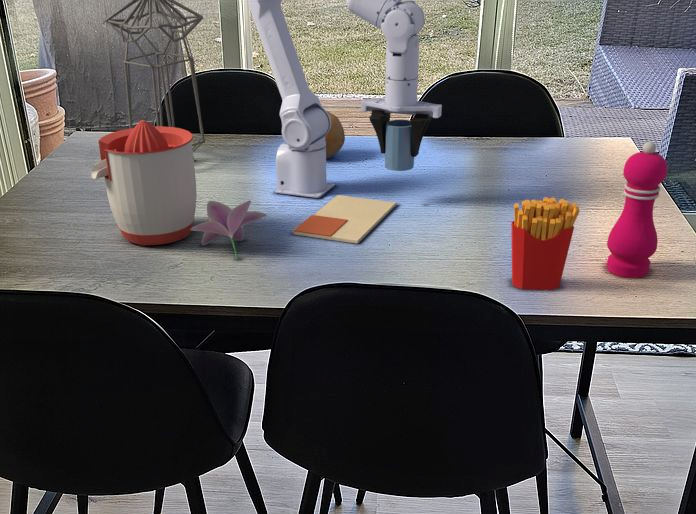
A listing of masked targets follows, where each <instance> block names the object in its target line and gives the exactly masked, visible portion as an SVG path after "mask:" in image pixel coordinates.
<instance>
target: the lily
mask: <svg viewBox="0 0 696 514" xmlns="http://www.w3.org/2000/svg"><path fill="white" fill-rule="evenodd" d="M251 203H252V201H251V200H247V201H244V202H243V203H240V204H239V205H237V206H235V207H233V208H230V207H229V205H227V204H225V203H223V202H220V201H215V200H209V201H207V203H206V215H207V218H208V220H207V221H203V222H202V223H199V224H196V225H194V226H192V228H191V229H190V230H191V231H192V232H193V231H195V232H204V233H203V236H202V239H201V245H202V246H206V245H208V244H210V243H211V242H213V241H214V240H217V239H219V238H221V237H223V236H226V237H228V238H230V240H231V244H232V248H233V251H234V254H235V258H236V260H238V259H239V255H238V252H237V249H236V245H235V242H234V240H236V241H239V242H242V241H243V239H244V228H243V227H244V226H246V225H248V224H251V223H253V222H255V221H258V220H260V219H263V218H266V217H267V214H266V213H264V212H260V211H252V210H251V211H250V210H249V208H250V206H251Z"/></svg>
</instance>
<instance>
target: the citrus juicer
mask: <svg viewBox="0 0 696 514" xmlns="http://www.w3.org/2000/svg"><path fill="white" fill-rule="evenodd" d="M192 134H193V133H191V132H190V131H189V130H186V129H183V128H180V127H176V126H175V127H172V126H171V127H169V126H164V125H163V126H157V125H155V126H154V125H153V124H151V123H150V122H149V121H147V120H146V119H141V120H140V121H139V122H138V123H137V124H136V125H135V126H134V127H132V128H130V127H129V128H125V129H120V130H116V131H114V132H110V133H107V134H105V135H103V136H101V138H99V139H98V141H97V142H98V148H99V155H100V161H98V162H96V163H94V164H93V166H92V168H91V169H92V170H91V178H92V179H93V180H97V179H102V178H104V183H105V188H106V196H107V198H108V204H109V207H110V209H111V212H112V216H113V218H114V220H115V222H116V224H117V228H118V230H119V231H120V233H121V234H122V236H123V237H124V239H125V240H126V241H128V242H129V243H132V244H136V245H138V246H141V247H147V246H157V245H158V246H159V245H165V244H166V245H167V244H170V243H174V242H179V241H181V240H184V239H185V238H187V236H188V235H190V233H191V231H192V230H190V229H191V228H192V227H194V226H193V225H194V222H195V214H196V210H197V209H196V208H197V195H198V194H197V179H196V169H195V161H194V160H195V158H194V159H193V157H194V152H193V149H192V148H193V146H192V144H193V141H192V140H194V137H193V135H194V134H193V135H192Z"/></svg>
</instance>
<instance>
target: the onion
mask: <svg viewBox="0 0 696 514" xmlns="http://www.w3.org/2000/svg"><path fill="white" fill-rule="evenodd" d="M326 111H327V112H328V114H329V116H330V119H331V127H330V130H329V132H328V133H327V134H326V135H325V141H326V160H327V159H330V158H332V157H334V156H336V155H337V154H338V153H339V152H340V151H341V149H342V148H343V146H344V144H345V142H346V141H345V140H346V133H345V129H344V127H343V125H342V122H341V121H340V119H339V118H338V117H337V116H336V115H335V114H334V113H332V112H330V111H328V110H326Z"/></svg>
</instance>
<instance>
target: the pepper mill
mask: <svg viewBox="0 0 696 514" xmlns="http://www.w3.org/2000/svg"><path fill="white" fill-rule="evenodd" d="M656 150H657V146H656V144H655V143H654V141H647V142H645V143H644V144H643V146H642V151H637V152H636V153H633V154H632V155H630V156H629V157H628V158H627V159H626V161H625V163H624V166H623V178H624V179H625V180H626V183H624V185H623V186H624V187H623V188H624V190H623V195H624V196H625V197H624V205H623V209H622V211H621V213H620V216H619V217H618V219H617V220H616V221H615V223H614V225H613V227H612V228H611V229H610V232H609V233H608V237H607V240H606V247H607V250H608V251H609V252H610V253H611V254H609V255H608V257H607V259H606V260H607V261H606V266H605V267H606V270H607V271H608V272H609V273H610V274H612V275H615V276H617V277H620V278H628V279H637V278H643V277H645V276H647V275H648V274H649V272H650V268H651V267H650V266H651V260H650V258H651V257H652V256H653V255H654V254H655V253H656V251H657V250H658V233H657V230H656V226H655V222H654V205H655V201H656V199H657V198H659V197H660V191H661V186H660V185H661V184H662V183H663V182H664V181H665V180H666V178H667V175H668V162H667V161H666V159H665V158H664V157H663V155H661V154H660V153H658V152H656Z"/></svg>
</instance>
